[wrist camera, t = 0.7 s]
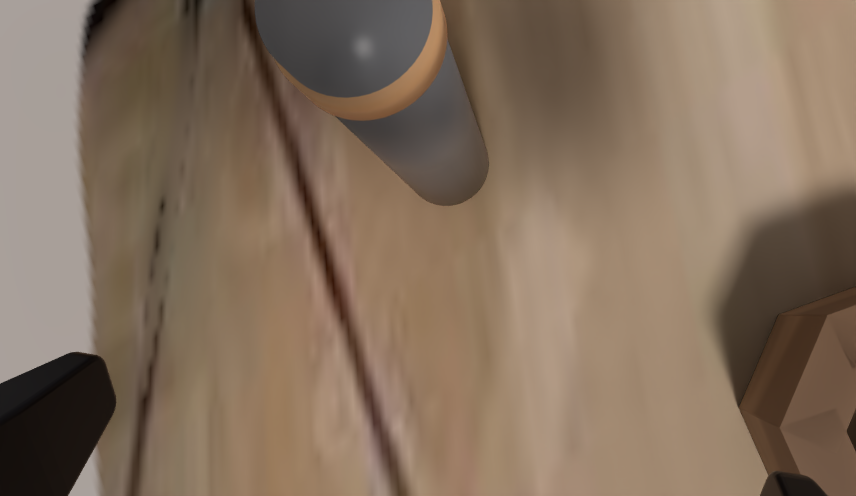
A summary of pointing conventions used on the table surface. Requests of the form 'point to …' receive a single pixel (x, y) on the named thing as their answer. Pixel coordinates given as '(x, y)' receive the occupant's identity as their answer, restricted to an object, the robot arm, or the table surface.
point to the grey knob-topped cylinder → (384, 84)
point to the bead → (808, 394)
